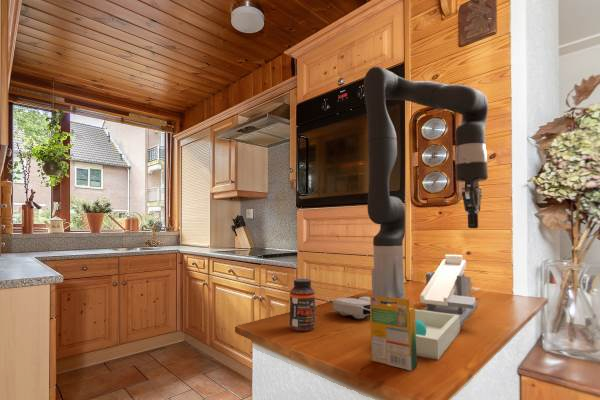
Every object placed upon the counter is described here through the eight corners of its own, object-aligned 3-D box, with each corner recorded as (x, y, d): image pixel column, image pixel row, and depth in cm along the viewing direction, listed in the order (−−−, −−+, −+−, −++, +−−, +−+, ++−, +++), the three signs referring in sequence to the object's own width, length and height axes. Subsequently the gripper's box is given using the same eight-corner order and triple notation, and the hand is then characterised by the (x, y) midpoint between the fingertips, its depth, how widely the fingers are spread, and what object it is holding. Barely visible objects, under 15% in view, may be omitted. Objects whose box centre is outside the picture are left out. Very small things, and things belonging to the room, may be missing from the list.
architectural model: (458, 296, 116) (457, 274, 117) (479, 299, 111) (478, 276, 112) (453, 297, 114) (452, 275, 115) (475, 301, 109) (474, 277, 109)
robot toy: (359, 309, 103) (324, 314, 93) (359, 293, 103) (324, 297, 93) (395, 317, 94) (360, 324, 84) (395, 300, 94) (361, 304, 84)
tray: (374, 346, 68) (374, 328, 69) (407, 322, 85) (406, 308, 85) (438, 359, 61) (437, 339, 62) (460, 330, 78) (459, 315, 78)
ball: (409, 335, 74) (403, 340, 70) (409, 316, 74) (403, 320, 71) (429, 338, 71) (423, 343, 68) (428, 318, 72) (422, 323, 68)
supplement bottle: (297, 333, 77) (296, 282, 78) (285, 327, 82) (285, 279, 83) (320, 329, 80) (319, 280, 81) (307, 323, 85) (307, 276, 86)
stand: (410, 322, 85) (409, 279, 86) (437, 301, 107) (436, 267, 108) (458, 329, 79) (456, 282, 79) (477, 305, 101) (475, 269, 101)
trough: (421, 310, 85) (419, 289, 84) (444, 271, 106) (443, 254, 105) (474, 317, 78) (472, 294, 78) (487, 274, 99) (486, 256, 99)
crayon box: (417, 365, 59) (415, 296, 60) (411, 371, 57) (409, 299, 58) (378, 356, 64) (376, 292, 64) (371, 361, 61) (369, 294, 62)
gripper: (461, 167, 99) (463, 227, 98) (449, 160, 89) (451, 228, 88) (490, 164, 95) (493, 227, 94) (482, 157, 84) (484, 228, 83)
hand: (473, 228), depth 91 cm, fingers closed
